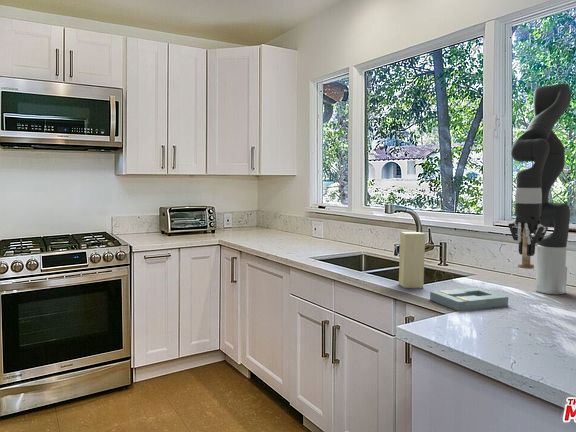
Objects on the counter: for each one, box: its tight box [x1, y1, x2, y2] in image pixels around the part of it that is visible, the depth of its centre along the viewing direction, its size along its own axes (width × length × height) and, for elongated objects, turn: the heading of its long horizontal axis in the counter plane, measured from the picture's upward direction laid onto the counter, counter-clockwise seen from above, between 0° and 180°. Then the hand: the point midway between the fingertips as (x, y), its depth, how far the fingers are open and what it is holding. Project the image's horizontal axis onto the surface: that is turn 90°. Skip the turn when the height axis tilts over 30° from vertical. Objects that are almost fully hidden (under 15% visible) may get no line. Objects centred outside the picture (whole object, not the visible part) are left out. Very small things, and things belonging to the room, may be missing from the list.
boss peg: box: [517, 228, 535, 270], centre depth 142 cm, size 5×5×13 cm
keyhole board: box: [429, 287, 509, 312], centre depth 147 cm, size 20×14×3 cm
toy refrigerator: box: [398, 231, 426, 289], centre depth 171 cm, size 8×7×21 cm
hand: (526, 254), depth 142 cm, fingers closed on boss peg, 2 cm apart
